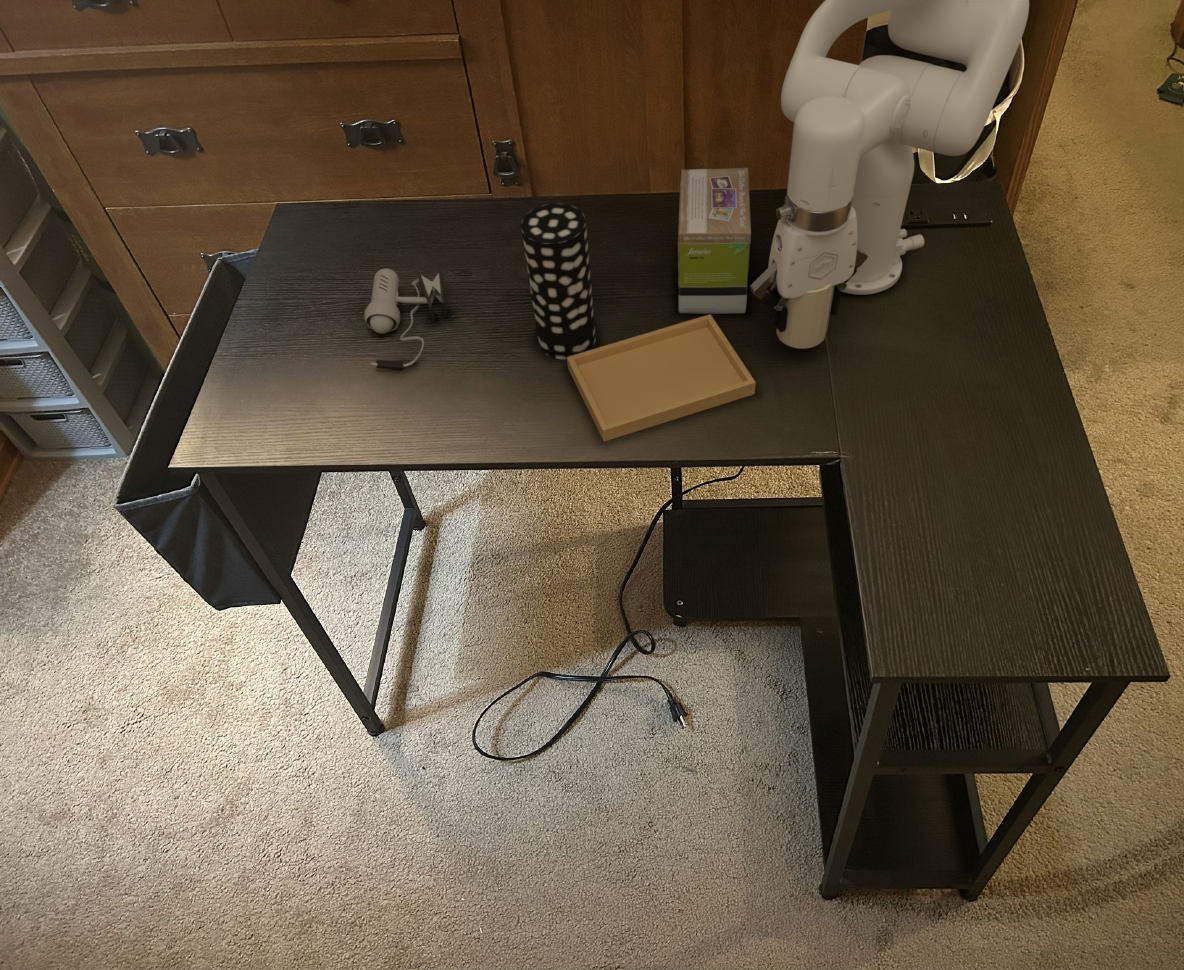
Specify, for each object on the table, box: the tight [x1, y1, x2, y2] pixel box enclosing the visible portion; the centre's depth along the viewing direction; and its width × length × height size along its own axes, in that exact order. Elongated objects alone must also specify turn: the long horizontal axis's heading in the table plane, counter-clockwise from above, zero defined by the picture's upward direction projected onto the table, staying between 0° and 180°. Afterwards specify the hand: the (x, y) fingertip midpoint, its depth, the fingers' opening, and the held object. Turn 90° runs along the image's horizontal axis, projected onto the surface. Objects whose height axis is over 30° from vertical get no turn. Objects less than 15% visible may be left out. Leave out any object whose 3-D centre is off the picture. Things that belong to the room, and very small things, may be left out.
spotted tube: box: [520, 202, 597, 360], centre depth 125 cm, size 8×8×20 cm
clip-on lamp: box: [364, 267, 449, 371], centre depth 134 cm, size 12×6×18 cm
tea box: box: [677, 167, 752, 315], centre depth 132 cm, size 15×10×15 cm, turn 175°
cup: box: [775, 284, 835, 350], centre depth 121 cm, size 7×7×10 cm
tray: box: [566, 313, 757, 442], centre depth 125 cm, size 22×15×2 cm
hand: (803, 316), depth 122 cm, fingers closed on cup, 6 cm apart
